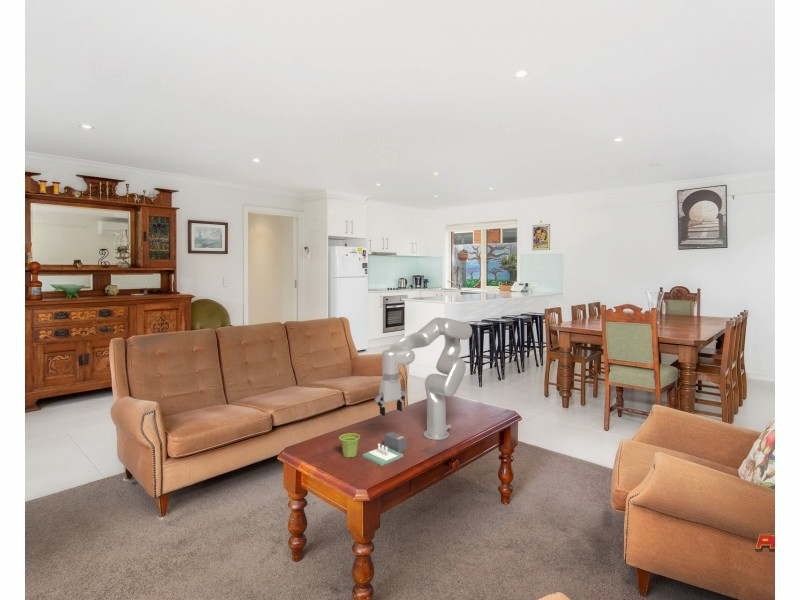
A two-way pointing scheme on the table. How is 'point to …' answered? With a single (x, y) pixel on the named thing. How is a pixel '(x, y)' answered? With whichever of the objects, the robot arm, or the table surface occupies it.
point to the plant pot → (349, 444)
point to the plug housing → (395, 442)
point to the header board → (382, 455)
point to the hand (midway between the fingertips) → (391, 412)
